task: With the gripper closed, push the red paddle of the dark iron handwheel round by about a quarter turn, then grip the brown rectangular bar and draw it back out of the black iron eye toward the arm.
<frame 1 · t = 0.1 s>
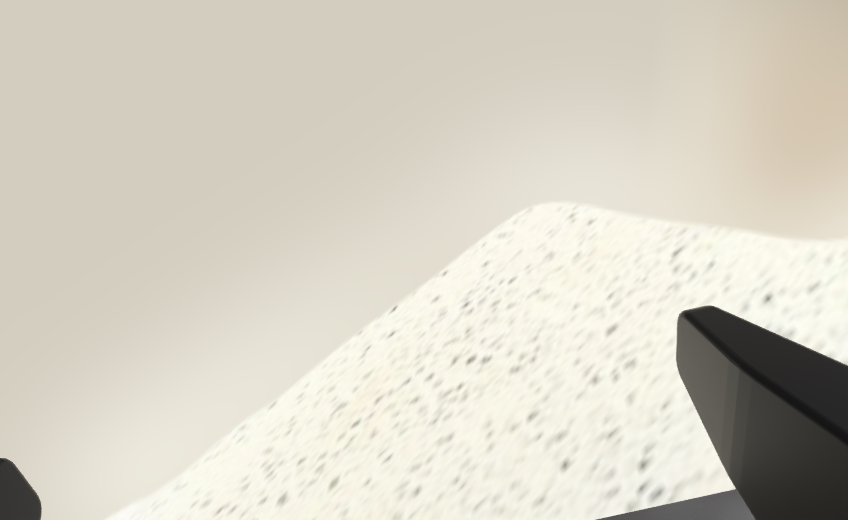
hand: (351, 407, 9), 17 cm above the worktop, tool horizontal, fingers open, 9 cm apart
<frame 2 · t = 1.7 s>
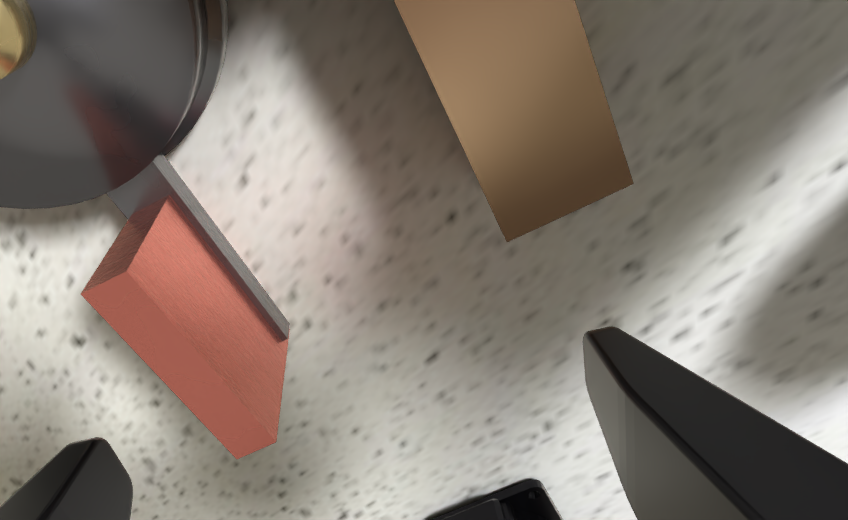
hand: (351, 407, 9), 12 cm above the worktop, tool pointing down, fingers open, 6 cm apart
handwheel: (80, 163, 15), point 4 cm above the worktop, hinge at 0.0°
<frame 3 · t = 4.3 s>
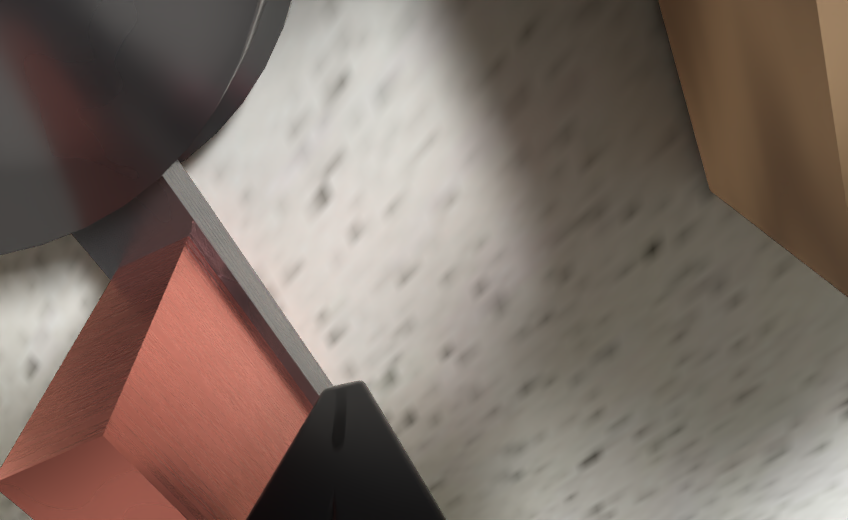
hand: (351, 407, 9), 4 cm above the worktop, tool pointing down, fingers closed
handwheel: (10, 175, 7), point 4 cm above the worktop, hinge at -2.7°, touching gripper
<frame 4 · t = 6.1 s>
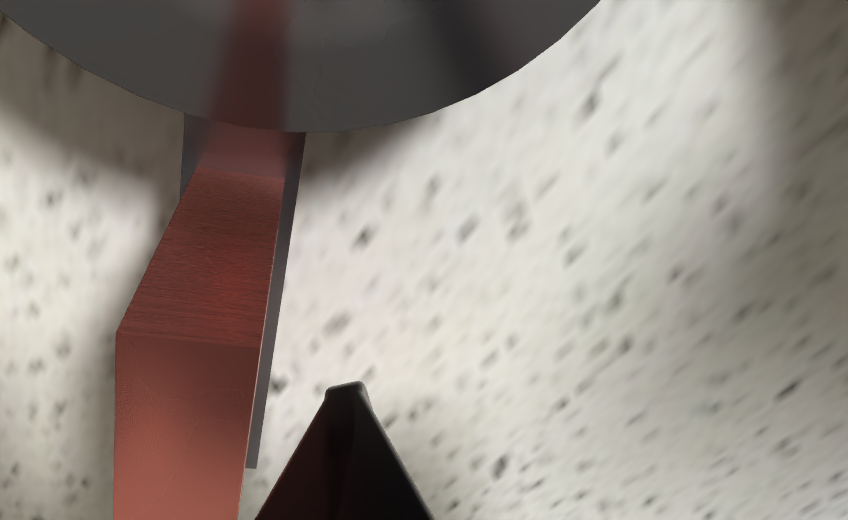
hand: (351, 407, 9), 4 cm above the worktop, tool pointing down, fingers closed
handwheel: (244, 50, 7), point 3 cm above the worktop, hinge at -39.6°, touching gripper
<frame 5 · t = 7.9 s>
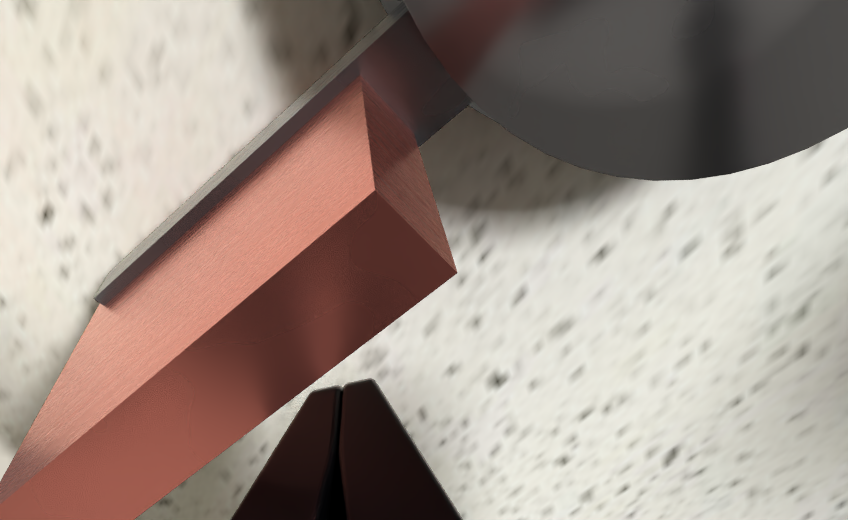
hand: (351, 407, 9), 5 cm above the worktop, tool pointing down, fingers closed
handwheel: (522, 32, 8), point 4 cm above the worktop, hinge at -75.8°
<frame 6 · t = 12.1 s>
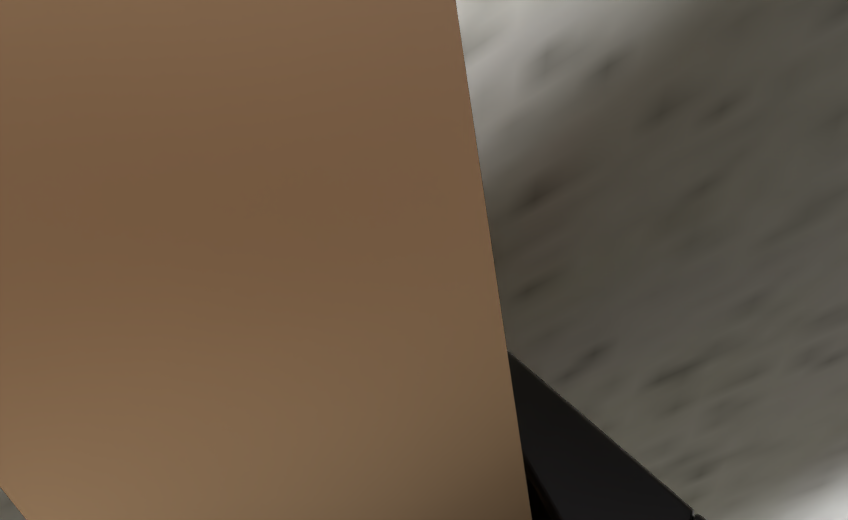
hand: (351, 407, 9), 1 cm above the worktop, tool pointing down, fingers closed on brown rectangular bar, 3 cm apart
brown rectangular bar: (209, 78, 5), point 2 cm above the worktop, slide at 0.0 cm, touching gripper
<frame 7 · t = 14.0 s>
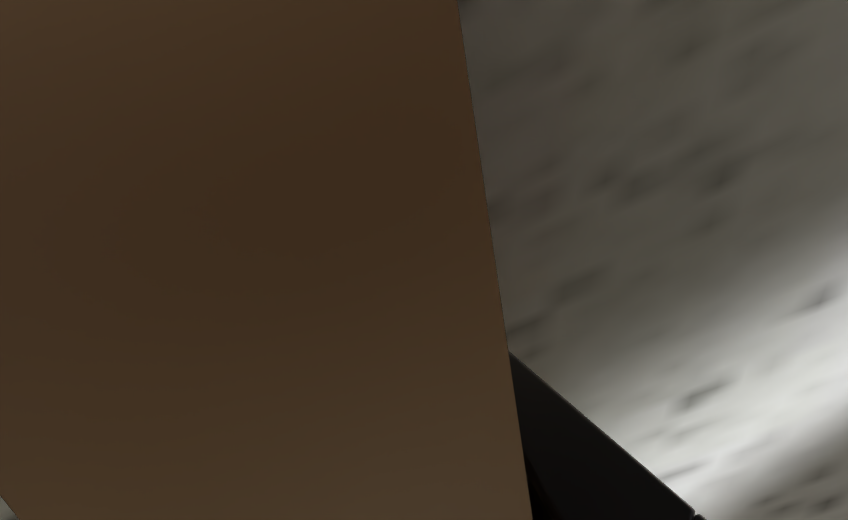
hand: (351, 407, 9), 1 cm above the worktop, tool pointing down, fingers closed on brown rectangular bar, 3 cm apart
brown rectangular bar: (208, 78, 5), point 2 cm above the worktop, slide at 6.0 cm, touching gripper
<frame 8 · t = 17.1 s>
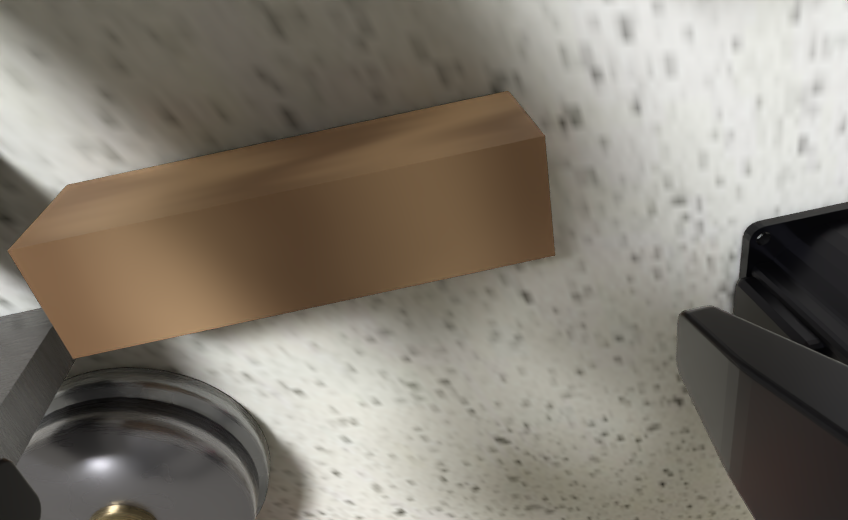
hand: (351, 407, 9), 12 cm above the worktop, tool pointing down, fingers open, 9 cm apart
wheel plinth: (146, 462, 25), on the worktop
brown rectangular bar: (300, 218, 18), point 2 cm above the worktop, slide at 6.0 cm
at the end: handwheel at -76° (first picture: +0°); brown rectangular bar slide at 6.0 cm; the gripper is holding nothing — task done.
